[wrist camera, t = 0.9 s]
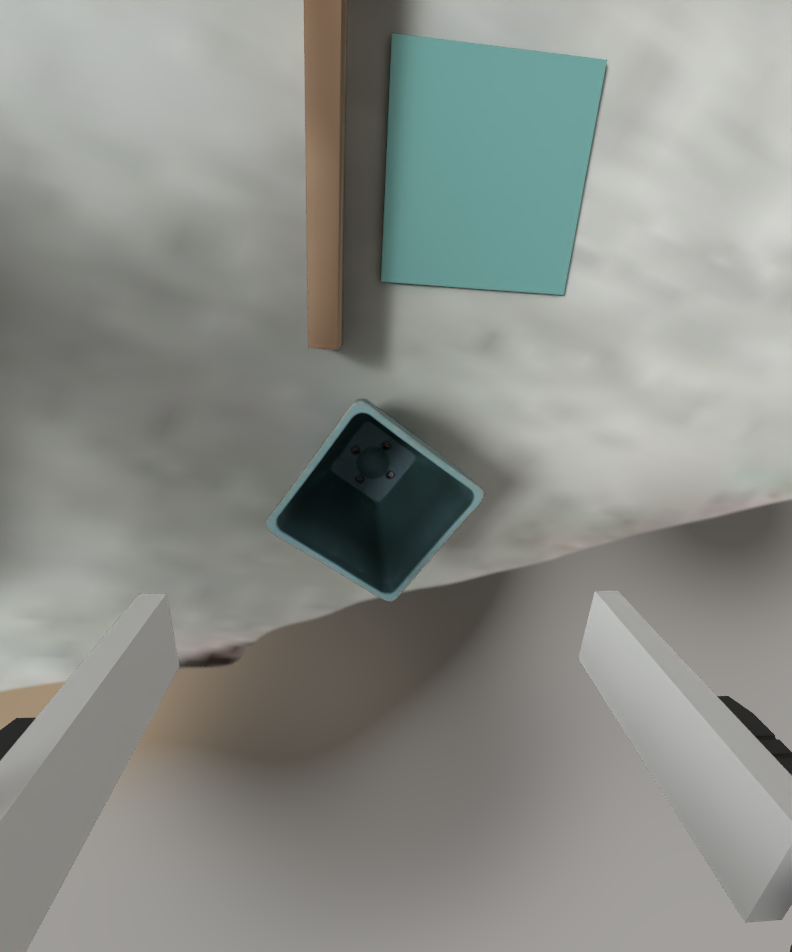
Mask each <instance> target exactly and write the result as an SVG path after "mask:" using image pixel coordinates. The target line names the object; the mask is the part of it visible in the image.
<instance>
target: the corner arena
mask: <svg viewBox="0 0 792 952" xmlns="http://www.w3.org/2000/svg"><path fill="white" fill-rule="evenodd" d="M304 53H305V134H306V215H307V295H308V348H316V349H333V350H338V349H339V348H340V347H341V346H342V324H343V257H344V189H345V122H346V54H347V0H304Z"/></svg>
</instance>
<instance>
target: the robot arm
mask: <svg viewBox="0 0 792 952" xmlns="http://www.w3.org/2000/svg"><path fill="white" fill-rule="evenodd" d="M578 659H579V661H580V663H581V664H582V665H583V667H584V669H585V670H586V672H587V674H588V675H589V677H590V678H591V680H592V682H593V683H594V685H595V686H596V688H597V689H598V691H599V693H600V694H601V696H602V697H603V699H604V700H605V702H606V704H607V705H608V707H609V708H610V710H611V712H612V713H613V715H614V716H615V718H616V720H617V721H618V723H619V724H620V726H621V727H622V729H623V731H624V732H625V734H626V735H627V737H628V738H629V740H630V742H631V743H632V745H633V746H634V748H635V750H636V751H637V753H638V754H639V756H640V757H641V759H642V761H643V762H644V764H645V765H646V767H647V769H648V770H649V772H650V773H651V775H652V776H653V778H654V779H655V781H656V783H657V784H658V786H659V788H660V789H661V791H662V792H663V794H664V795H665V797H666V799H667V800H668V802H669V803H670V805H671V806H672V808H673V810H674V811H675V813H676V814H677V816H678V818H679V819H680V821H681V822H682V823H683V825H684V827H685V829H686V830H687V832H688V833H689V835H690V836H691V838H692V839H693V841H694V843H695V844H696V846H697V848H698V849H699V851H700V852H701V854H702V855H703V857H704V859H705V860H706V862H707V863H708V865H709V866H710V868H711V870H712V871H713V873H714V874H715V876H716V878H717V879H718V881H719V882H720V884H721V885H722V887H723V889H724V890H725V892H726V893H727V895H728V897H729V898H730V900H731V901H732V903H733V904H734V906H735V908H736V909H737V911H738V912H739V914H740V916H741V917H742V919H743V920H744V922H745V923H746V922H759V921H771V920H782V919H783V917H784V916H785V914H786V912H787V911H788V909H789V908H790V906H791V905H792V752H791V751H790V750H789V749H788V748H787V747H786V746H785V745H784V744H783V743H782V742H781V741H780V740H777V739H776V738H775V735H774V734H773V733H772V732H771V731H770V730H769V729H768V728H767V727H766V726H765V725H764V724H763V723H762V722H761V721H760V720H759V719H758V718H757V717H756V716H755V715H754V714H753V713H752V712H750V711H749V710H747V709H746V708H744V707H743V706H742V705H740V704H739V703H737V702H736V701H734V700H733V699H732V698H730V697H729V696H716V695H715V694H714V693H713V691H712V690H711V689H710V688H709V687H708V686H707V685H706V684H705V683H704V682H703V681H702V680H701V679H700V678H699V677H698V675H697V674H696V673H695V672H694V671H693V670H692V669H691V668H690V667H689V666H688V665H687V664H686V663H685V662H684V661H683V660H682V658H680V656H679V655H678V654H677V653H676V652H675V651H674V650H673V649H672V648H671V647H670V646H669V645H668V644H667V643H666V641H664V639H662V637H661V636H660V635H659V634H658V633H657V632H656V631H655V630H654V629H653V628H652V627H651V626H650V624H649V623H648V622H647V621H646V620H645V619H644V618H643V617H642V616H641V615H640V614H639V613H638V612H637V611H636V610H635V608H633V606H632V605H631V604H630V603H629V602H628V601H627V600H626V599H625V598H624V597H623V596H622V595H621V594H620V593H619V591H595V593H594V597H593V601H592V605H591V609H590V613H589V617H588V621H587V625H586V629H585V633H584V637H583V641H582V645H581V649H580V653H579V657H578ZM178 669H179V661H178V656H177V650H176V645H175V639H174V633H173V628H172V622H171V617H170V611H169V605H168V600H167V594H139V595H138V596H137V597H136V598H135V600H134V601H133V602H132V603H131V604H130V606H129V607H128V608H127V609H126V610H125V612H124V613H123V614H122V615H121V616H120V618H119V619H118V620H117V621H116V622H115V624H114V625H113V626H112V627H111V628H110V630H109V631H108V632H107V633H106V634H105V636H104V637H103V638H102V639H101V640H100V642H99V643H98V644H97V645H96V646H95V648H94V649H93V650H92V651H91V652H90V654H89V655H88V656H87V657H86V658H85V660H84V661H83V662H82V663H81V664H80V666H79V667H78V668H77V669H76V670H75V672H74V673H73V674H72V675H71V677H70V678H69V679H68V680H67V681H66V683H65V684H64V685H63V686H62V687H61V689H60V690H59V691H58V692H57V693H56V695H55V696H54V697H53V698H52V700H51V701H50V702H49V703H48V704H47V705H46V707H45V708H44V709H43V711H41V713H40V714H39V715H38V716H37V717H36V718H16V719H15V720H13V721H12V722H11V723H9V724H8V725H7V726H5V727H4V728H3V729H1V730H0V952H26V951H27V949H28V947H29V945H30V943H31V941H32V940H33V938H34V936H35V934H36V932H37V930H38V929H39V927H40V925H41V923H42V921H43V919H44V917H45V916H46V914H47V912H48V910H49V908H50V906H51V904H52V903H53V901H54V899H55V897H56V895H57V893H58V891H59V890H60V888H61V886H62V884H63V882H64V880H65V878H66V876H67V875H68V873H69V871H70V869H71V867H72V865H73V864H74V861H75V860H76V858H77V856H78V854H79V852H80V850H81V849H82V847H83V845H84V843H85V841H86V839H87V837H88V836H89V834H90V832H91V830H92V828H93V826H94V824H95V823H96V820H97V819H98V817H99V815H100V813H101V812H102V810H103V808H104V806H105V804H106V802H107V800H108V799H109V796H110V795H111V793H112V791H113V789H114V787H115V786H116V784H117V782H118V780H119V778H120V776H121V774H122V773H123V771H124V769H125V767H126V765H127V763H128V761H129V760H130V758H131V756H132V754H133V752H134V750H135V748H136V746H137V745H138V743H139V741H140V739H141V737H142V735H143V734H144V732H145V730H146V728H147V726H148V724H149V722H150V721H151V719H152V717H153V715H154V713H155V711H156V709H157V708H158V706H159V704H160V702H161V700H162V698H163V696H164V695H165V693H166V691H167V689H168V687H169V685H170V683H171V681H172V680H173V678H174V676H175V674H176V672H177V670H178ZM790 952H792V945H791V949H790Z"/></svg>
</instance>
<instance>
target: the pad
mask: <svg viewBox="0 0 792 952" xmlns="http://www.w3.org/2000/svg"><path fill="white" fill-rule="evenodd" d="M606 63H607V60H604V59H596V58H588V57H580V56H571V55H563V54H555V53H547V52H539V51H531V50H523V49H515V48H507V47H499V46H491V45H483V44H475V43H467V42H459V41H451V40H443V39H435V38H427V37H419V36H411V35H403V34H395V33H392V38H391V61H390V84H389V107H388V130H387V153H386V176H385V199H384V222H383V245H382V268H381V282H388V283H401V284H415V285H429V286H442V287H456V288H470V289H483V290H497V291H511V292H525V293H538V294H552V295H564V291H565V285H566V280H567V274H568V269H569V264H570V258H571V253H572V247H573V242H574V237H575V231H576V226H577V220H578V215H579V209H580V204H581V199H582V193H583V188H584V182H585V177H586V171H587V166H588V161H589V155H590V150H591V144H592V139H593V133H594V128H595V123H596V117H597V112H598V106H599V101H600V95H601V90H602V85H603V79H604V74H605V68H606Z"/></svg>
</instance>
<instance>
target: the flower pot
mask: <svg viewBox="0 0 792 952" xmlns="http://www.w3.org/2000/svg"><path fill="white" fill-rule="evenodd" d="M385 442H388V443H389V444H390V447H389V448H388V449H385V448H384V447H383V443H385ZM353 447H358V448H359V452H358V453H353V452H352V449H353ZM389 471H392V472H393V473H394V476H393V477H391V478H389V477H388V476H387V473H388V472H389ZM358 476H363V477H364V480H363V481H362V482H358V481H357V477H358ZM483 497H484V492H483V490H482V489H481V488H480V487H479V486H478V485H477V484H476V483H475V482H473V481H472V480H471V479H470V478H469V477H468V476H467V475H465V474H464V473H463V472H462V471H461V470H460V469H458V468H457V467H456V466H455V465H454V464H452V463H451V462H450V461H448V460H447V459H446V458H444V457H443V456H442V455H440V454H439V453H438V452H436V451H435V450H434V449H432V448H431V447H429V446H428V445H427V444H425V443H424V442H423V441H421V440H420V439H419V438H417V437H416V436H415V435H413V434H412V433H411V432H409V431H408V430H407V429H405V428H404V427H403V426H401V425H400V424H399V423H397V422H396V421H395V420H393V419H392V418H391V417H389V416H388V415H387V414H385V413H384V412H383V411H381V410H380V409H379V408H377V407H376V406H375V405H374V404H372V403H371V402H370V401H368V400H366V399H358V400H356V401H355V402H354V403H353V404H352V405H351V406H350V407H349V408H348V410H347V411H346V412H345V414H344V415H343V417H342V418H341V420H340V421H339V422H338V424H337V425H336V427H335V428H334V429H333V431H332V432H331V433H330V435H329V436H328V438H327V439H326V440H325V442H324V443H323V445H322V446H321V448H320V449H319V450H318V452H317V453H316V454H315V456H314V457H313V459H312V460H311V461H310V463H309V464H308V465H307V467H306V468H305V469H304V471H303V472H302V473H301V475H300V476H299V478H298V479H297V480H296V481H295V483H294V484H293V485H292V487H291V488H290V489H289V491H288V492H287V494H286V495H285V496H284V497H283V499H282V500H281V501H280V503H279V504H278V505H277V507H276V508H275V509H274V511H273V512H272V513H271V514H270V516H269V517H268V519H267V521H266V528H267V529H268V530H269V531H270V532H271V533H273V534H274V535H276V536H277V537H279V538H281V539H282V540H284V541H286V542H287V543H289V544H291V545H292V546H294V547H296V548H298V549H300V550H301V551H303V552H305V553H307V554H308V555H310V556H312V557H313V558H315V559H317V560H319V561H320V562H322V563H324V564H325V565H327V566H328V567H330V568H332V569H334V570H335V571H337V572H339V573H340V574H341V575H343V576H345V577H347V578H348V579H350V580H351V581H353V582H354V583H356V584H358V585H360V586H361V587H363V588H364V589H366V590H368V591H369V592H371V593H372V594H374V595H376V596H377V597H379V598H381V599H383V600H386V601H394V600H395V599H396V598H397V597H398V596H399V595H400V594H401V593H402V592H403V590H404V589H405V588H406V587H407V586H408V585H409V583H410V582H411V581H412V580H413V579H414V578H415V577H416V575H417V574H418V573H419V572H420V571H421V569H422V568H423V567H424V566H425V565H426V564H427V562H428V561H429V560H430V559H431V558H432V557H433V555H434V554H435V553H436V552H437V551H438V550H439V549H440V548H441V546H442V545H443V544H444V543H445V542H446V541H447V540H448V538H449V537H450V536H451V535H452V534H453V533H454V532H455V530H456V529H457V528H458V527H459V526H460V525H461V524H462V523H463V522H464V521H465V519H466V518H467V517H468V516H469V515H470V514H471V513H472V512H473V511H474V510H475V509H476V508H477V507H478V506H479V504H480V503H481V501H482V500H483Z"/></svg>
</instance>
